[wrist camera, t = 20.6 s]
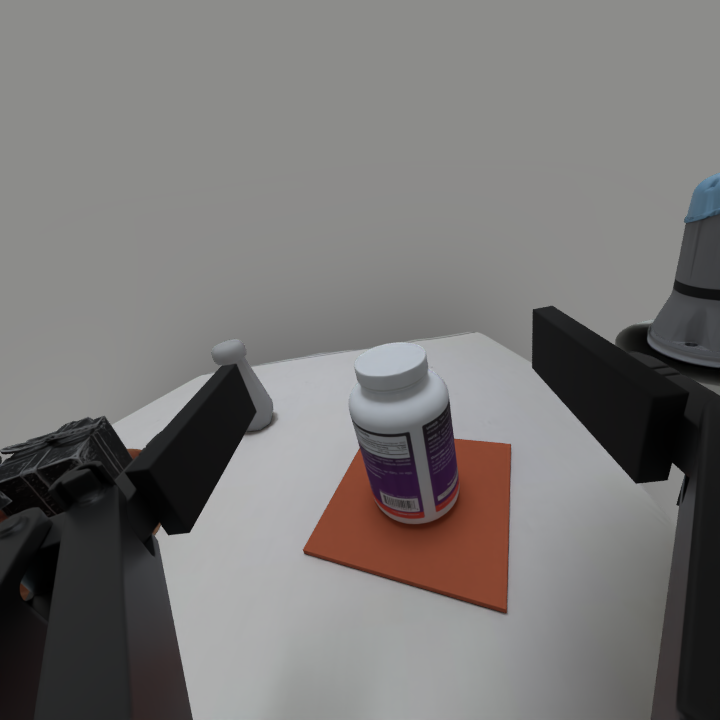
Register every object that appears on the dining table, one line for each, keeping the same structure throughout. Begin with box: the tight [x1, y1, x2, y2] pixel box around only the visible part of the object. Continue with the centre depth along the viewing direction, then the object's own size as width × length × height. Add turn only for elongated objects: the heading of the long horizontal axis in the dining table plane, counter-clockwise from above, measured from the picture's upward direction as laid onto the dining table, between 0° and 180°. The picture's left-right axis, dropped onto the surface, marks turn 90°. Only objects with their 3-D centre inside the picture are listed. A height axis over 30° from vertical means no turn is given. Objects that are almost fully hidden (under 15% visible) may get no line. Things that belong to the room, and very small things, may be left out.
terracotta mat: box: [303, 439, 511, 613], centre depth 31 cm, size 16×16×1 cm
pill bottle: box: [349, 342, 459, 524], centre depth 28 cm, size 8×8×14 cm
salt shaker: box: [211, 339, 273, 431], centre depth 46 cm, size 6×6×13 cm
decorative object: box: [0, 416, 161, 600], centre depth 32 cm, size 25×19×22 cm
